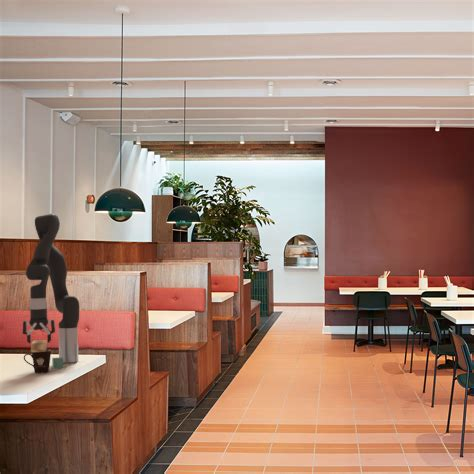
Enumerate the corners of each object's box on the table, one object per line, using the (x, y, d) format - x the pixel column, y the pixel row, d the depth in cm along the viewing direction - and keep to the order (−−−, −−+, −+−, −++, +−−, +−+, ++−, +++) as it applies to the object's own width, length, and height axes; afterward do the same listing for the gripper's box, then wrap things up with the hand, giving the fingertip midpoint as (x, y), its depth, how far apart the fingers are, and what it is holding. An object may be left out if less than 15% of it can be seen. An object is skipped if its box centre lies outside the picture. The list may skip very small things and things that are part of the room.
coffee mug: (55, 370, 321) (54, 349, 321) (44, 374, 312) (43, 352, 313) (33, 369, 324) (33, 348, 324) (22, 373, 316) (22, 351, 316)
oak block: (46, 348, 325) (46, 339, 325) (44, 351, 314) (44, 343, 314) (33, 349, 323) (33, 340, 324) (31, 352, 313) (30, 343, 313)
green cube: (62, 366, 333) (61, 357, 333) (63, 368, 329) (63, 358, 329) (52, 367, 331) (52, 357, 331) (53, 368, 327) (53, 359, 327)
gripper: (55, 306, 323) (56, 341, 323) (24, 307, 322) (24, 342, 321) (53, 308, 316) (53, 343, 316) (21, 309, 314) (21, 344, 314)
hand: (39, 342), depth 319 cm, fingers open, 8 cm apart
